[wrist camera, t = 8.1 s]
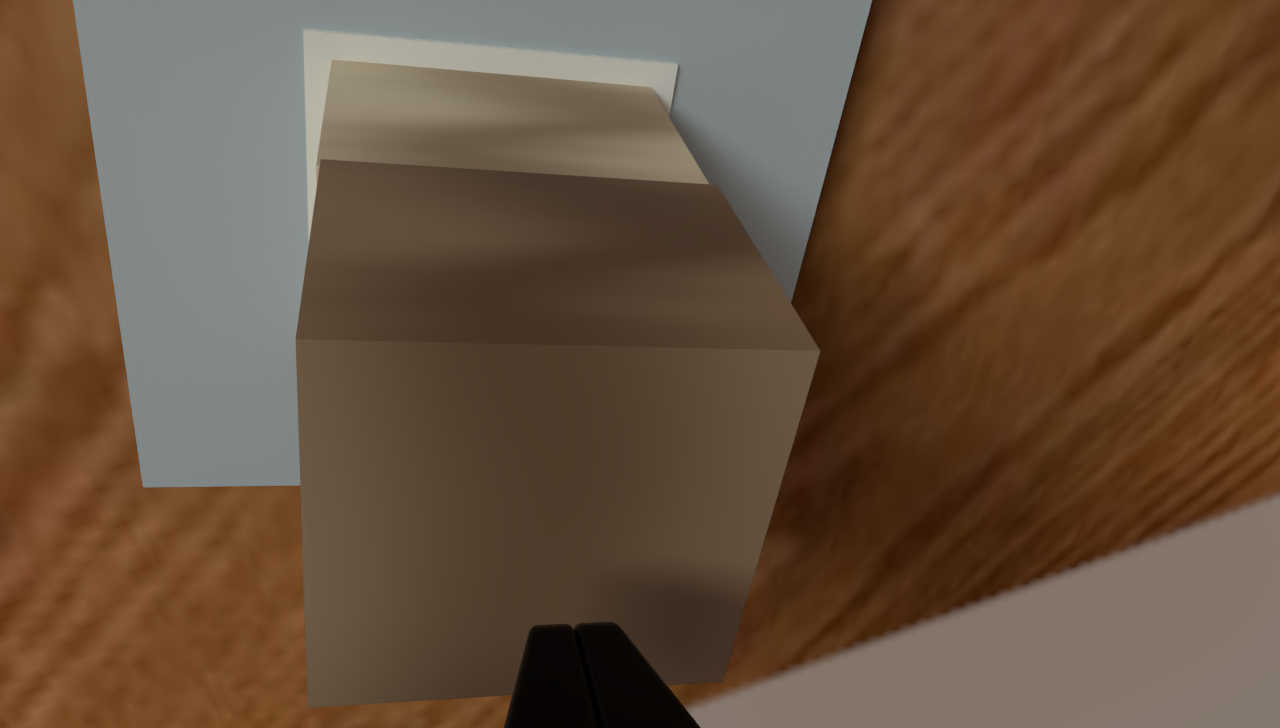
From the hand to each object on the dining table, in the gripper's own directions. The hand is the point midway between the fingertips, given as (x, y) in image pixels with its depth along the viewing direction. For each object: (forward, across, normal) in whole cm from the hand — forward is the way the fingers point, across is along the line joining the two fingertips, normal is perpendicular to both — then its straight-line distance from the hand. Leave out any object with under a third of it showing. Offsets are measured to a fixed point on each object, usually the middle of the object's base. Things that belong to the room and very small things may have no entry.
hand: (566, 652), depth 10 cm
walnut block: (+6, 0, 0) cm, 6 cm away
